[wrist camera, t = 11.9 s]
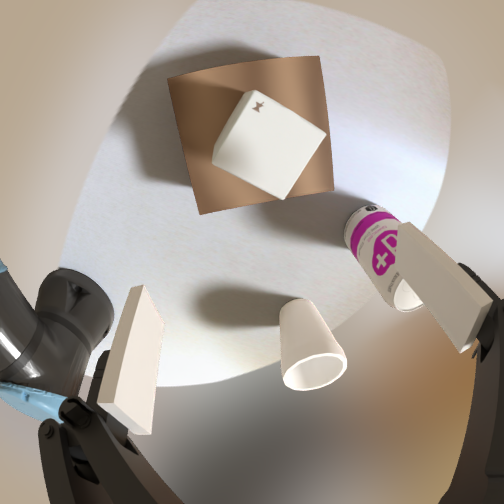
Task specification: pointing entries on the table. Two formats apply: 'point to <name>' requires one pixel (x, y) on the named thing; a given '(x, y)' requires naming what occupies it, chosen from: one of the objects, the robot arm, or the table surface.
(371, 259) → the supplement can
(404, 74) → the table surface
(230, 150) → the product box
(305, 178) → the walnut block
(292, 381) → the foam cup
